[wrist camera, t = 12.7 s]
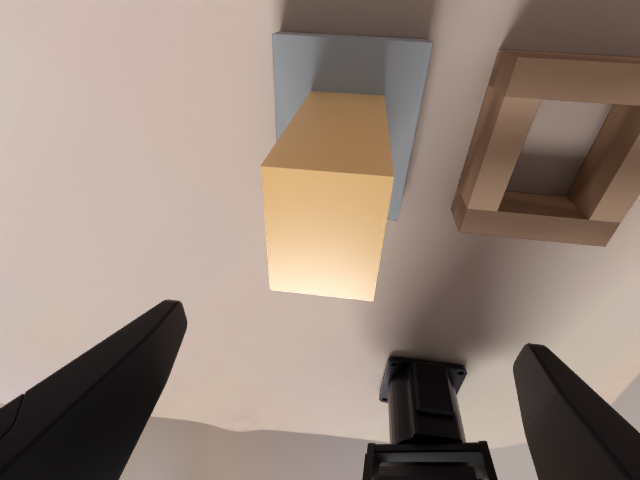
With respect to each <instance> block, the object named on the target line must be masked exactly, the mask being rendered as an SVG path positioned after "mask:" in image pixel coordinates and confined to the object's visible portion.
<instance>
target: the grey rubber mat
mask: <svg viewBox="0 0 640 480" xmlns="http://www.w3.org/2000/svg"><path fill="white" fill-rule="evenodd" d="M272 39H273V65H274V91H275V116H276V142H277V141H278V139H279V138H280V136H281V135H282V133H283V132H284V130H285V129H286V127H287V126H288V124H289V123H290V121H291V120H292V118H293V117H294V115H295V114H296V112H297V111H298V109H299V108H300V106H301V105H302V103H303V102H304V100H305V99H306V97H307V96H308V94H309V93H310V91H318V92H334V93H351V94H368V95H384V96H385V105H386V113H387V121H388V130H389V138H390V146H391V155H392V163H393V171H394V181H393V187H392V193H391V199H390V205H389V211H388V216H387V220H394V221H397V220H398V215H399V210H400V205H401V200H402V195H403V190H404V185H405V180H406V175H407V170H408V165H409V160H410V155H411V150H412V145H413V140H414V135H415V130H416V125H417V120H418V115H419V110H420V105H421V100H422V95H423V90H424V85H425V80H426V75H427V70H428V65H429V60H430V55H431V50H432V45H433V42H431V41H430V40H428V39H413V38H394V37H375V36H357V35H338V34H320V33H301V32H282V31H279V32H277V33H274V34H272Z"/></svg>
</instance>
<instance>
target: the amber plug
mask: <svg viewBox="0 0 640 480" xmlns="http://www.w3.org/2000/svg"><path fill="white" fill-rule="evenodd" d="M261 178H262V191H263V204H264V217H265V230H266V243H267V256H268V269H269V282H270V290H275V291H284V292H293V293H302V294H311V295H320V296H329V297H338V298H347V299H356V300H365V301H373V299H374V293H375V287H376V281H377V275H378V270H379V264H380V258H381V252H382V246H383V240H384V234H385V228H386V222H387V216H388V211H389V205H390V199H391V193H392V187H393V181H394V171H393V163H392V155H391V146H390V138H389V130H388V121H387V113H386V105H385V96H384V95H368V94H351V93H334V92H318V91H310V93H309V94H308V96H307V97H306V99H305V100H304V102H303V103H302V105H301V106H300V108H299V109H298V111H297V112H296V114H295V115H294V117H293V118H292V120H291V121H290V123H289V124H288V126H287V127H286V129H285V130H284V132H283V133H282V135H281V136H280V138H279V139H278V141H277V142H276V144H275V145H274V147H273V148H272V150H271V151H270V153H269V154H268V156H267V157H266V159H265V160H264V162H263V163H262V165H261Z"/></svg>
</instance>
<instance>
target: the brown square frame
mask: <svg viewBox="0 0 640 480" xmlns="http://www.w3.org/2000/svg"><path fill="white" fill-rule="evenodd" d="M541 99H546V100H561V101H577V102H592V103H607V104H614V105H613V107H612V109H611V111H610V113H609V115H608V117H607V119H606V121H605V123H604V125H603V127H602V129H601V131H600V132H599V134H598V136H597V138H596V140H595V142H594V144H593V146H592V148H591V150H590V152H589V154H588V156H587V158H586V160H585V162H584V163H583V165H582V167H581V169H580V171H579V173H578V175H577V177H576V179H575V181H574V183H573V185H572V187H571V189H570V191H569V193H568V194H567V196H554V195H543V194H532V193H520V192H509V191H505V190H506V188H507V185H508V183H509V180H510V178H511V175H512V172H513V170H514V167H515V165H516V162H517V160H518V157H519V155H520V152H521V150H522V147H523V145H524V142H525V139H526V137H527V134H528V132H529V129H530V127H531V124H532V122H533V119H534V117H535V114H536V112H537V109H538V106H539V104H540V101H541ZM639 194H640V57H626V56H608V55H590V54H572V53H554V52H535V51H517V50H499V51H498V55H497V58H496V61H495V65H494V68H493V71H492V74H491V78H490V81H489V84H488V88H487V91H486V94H485V98H484V101H483V104H482V108H481V111H480V114H479V118H478V121H477V124H476V128H475V131H474V134H473V138H472V141H471V144H470V148H469V151H468V154H467V158H466V161H465V164H464V168H463V171H462V174H461V178H460V181H459V184H458V188H457V191H456V194H455V197H454V201H453V204H452V207H451V211H452V214H453V216H454V219H455V222H456V225H457V227H458V230H459V232H460V233H470V234H481V235H491V236H501V237H511V238H521V239H532V240H542V241H552V242H562V243H572V244H583V245H593V246H603V247H605V246H606V245H607V243H608V241H609V240H610V238H611V237H612V235H613V234H614V232H615V231H616V229H617V228H618V226H619V225H620V223H621V222H622V220H623V219H624V217H625V215H626V214H627V212H628V211H629V209H630V208H631V206H632V205H633V203H634V202H635V200H636V199H637V197H638V196H639Z"/></svg>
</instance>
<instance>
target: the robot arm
mask: <svg viewBox="0 0 640 480" xmlns="http://www.w3.org/2000/svg"><path fill="white" fill-rule="evenodd" d="M186 329H187V319H186V315H185V312H184V308H183V305H182V303H181V302H180V301H176V300H164V301H162V302H161V303H159V304H158V305H156V306H155V307H153V308H152V309H150V310H149V311H147V312H146V313H144V314H143V315H141V316H140V317H138V318H137V319H135V320H134V321H132V322H131V323H129V324H127V325H126V326H124V327H123V328H121V329H120V330H118V331H117V332H115V333H114V334H112V335H111V336H109V337H108V338H106V339H105V340H103V341H102V342H100V343H99V344H97V345H96V346H94V347H93V348H91V349H90V350H88V351H87V352H85V353H84V354H82V355H81V356H79V357H78V358H76V359H74V360H73V361H71V362H70V363H68V364H67V365H65V366H64V367H62V368H61V369H59V370H58V371H56V372H55V373H53V374H52V375H50V376H49V377H47V378H46V379H44V380H43V381H41V382H40V383H38V384H37V385H35V386H34V387H32V388H31V389H29V390H28V391H26V393H25V394H21V395H20V396H18V397H17V398H15V399H14V400H12V401H11V402H9V403H8V404H6V405H5V406H3V407H2V408H0V480H119V478H120V476H121V474H122V472H123V470H124V468H125V466H126V464H127V462H128V460H129V458H130V455H131V454H132V452H133V450H134V448H135V446H136V444H137V442H138V440H139V438H140V435H141V434H142V432H143V430H144V427H145V426H146V423H147V421H148V419H149V417H150V415H151V413H152V411H153V409H154V407H155V405H156V403H157V401H158V399H159V397H160V395H161V393H162V391H163V389H164V387H165V385H166V383H167V380H168V378H169V375H170V373H171V370H172V367H173V364H174V362H175V359H176V356H177V354H178V351H179V348H180V345H181V343H182V340H183V337H184V335H185V332H186ZM513 373H514V379H515V384H516V389H517V395H518V400H519V406H520V411H521V416H522V422H523V427H524V431H525V435H526V439H527V443H528V446H529V449H530V453H531V456H532V459H533V463H534V466H535V469H536V473H537V476H538V479H539V480H640V433H639V432H638V431H637V430H636V429H635V428H634V427H633V426H631V425H630V424H629V423H628V422H627V421H626V420H625V419H624V418H623V417H622V416H621V415H619V413H618V412H616V411H615V410H614V409H613V408H612V407H611V406H610V405H609V404H608V403H607V402H606V401H605V400H603V399H602V398H601V397H600V396H599V395H598V394H597V393H596V392H595V391H594V390H593V389H592V388H591V387H589V386H588V385H587V384H586V383H585V382H584V381H583V380H582V379H581V378H580V377H579V376H578V375H577V374H575V373H574V372H573V371H572V370H571V369H570V368H569V367H568V366H567V365H566V364H565V363H564V362H562V361H561V360H560V359H559V358H558V357H557V356H556V355H555V354H554V353H553V352H552V351H551V350H550V349H548V348H547V347H546V346H544V345H539V344H530V343H528V344H526V345H524V347H523V348H522V350H521V352H520V353H519V355H518V357H517V359H516V360H515V362H514V365H513ZM466 375H467V371H466V368H465V367H464V366H461V365H454V364H446V363H438V362H431V361H423V360H415V359H407V358H399V357H390V358H389V359H388V362H387V366H386V370H385V374H384V378H383V382H382V386H381V390H380V394H379V400H380V401H381V402H385V403H388V405H389V431H390V444H375V443H368V448H367V454H365V462H364V471H363V480H498V479H497V476H496V472H495V469H494V465H493V462H492V458H491V455H490V452H489V448H488V444H487V441H479V442H475V443H466V439H465V434H464V430H463V425H462V420H461V415H460V411H459V406H458V401H457V396H456V395H457V393H458V391H459V389H460V387H461V385H462V383H463V381H464V379H465V377H466Z"/></svg>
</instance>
